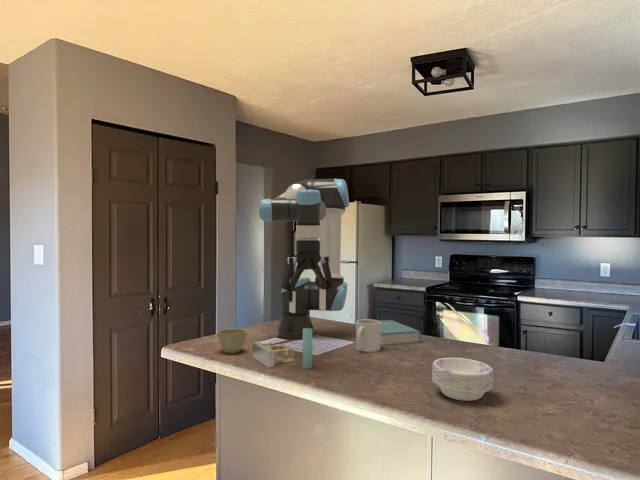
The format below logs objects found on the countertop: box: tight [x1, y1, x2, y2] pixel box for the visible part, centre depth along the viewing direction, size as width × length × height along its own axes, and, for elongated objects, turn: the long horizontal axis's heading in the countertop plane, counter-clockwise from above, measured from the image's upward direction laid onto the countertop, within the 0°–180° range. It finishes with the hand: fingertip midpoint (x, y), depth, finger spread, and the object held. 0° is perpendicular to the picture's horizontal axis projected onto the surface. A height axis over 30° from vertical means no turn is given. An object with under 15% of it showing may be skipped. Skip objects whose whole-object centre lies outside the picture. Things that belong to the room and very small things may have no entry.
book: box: [379, 319, 422, 346], centre depth 184 cm, size 23×16×5 cm
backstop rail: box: [252, 341, 276, 369], centre depth 148 cm, size 2×14×5 cm, turn 29°
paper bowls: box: [431, 357, 494, 402], centre depth 119 cm, size 15×15×8 cm
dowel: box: [302, 328, 313, 370], centre depth 142 cm, size 3×3×12 cm
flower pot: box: [217, 328, 247, 354], centre depth 161 cm, size 10×10×7 cm
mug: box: [355, 318, 382, 353], centre depth 165 cm, size 11×10×10 cm
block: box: [266, 343, 295, 365], centre depth 151 cm, size 8×8×4 cm
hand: (307, 310), depth 142 cm, fingers open, 10 cm apart
